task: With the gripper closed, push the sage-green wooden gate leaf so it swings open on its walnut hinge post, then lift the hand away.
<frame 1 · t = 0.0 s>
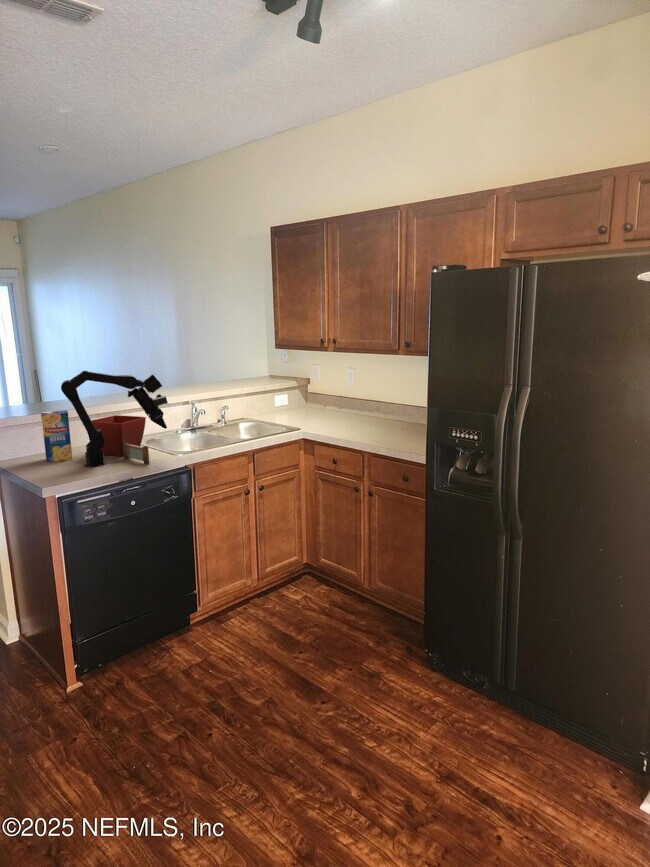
hand: (164, 426, 262), 15 cm above the worktop, tool tilted 35°, fingers open, 9 cm apart
gate frame: (137, 461, 258), on the worktop
plant pot: (120, 453, 275), on the worktop
gate leaf: (135, 452, 258), point 4 cm above the worktop, hinge at 0.0°
blue cardboard box: (59, 459, 263), on the worktop
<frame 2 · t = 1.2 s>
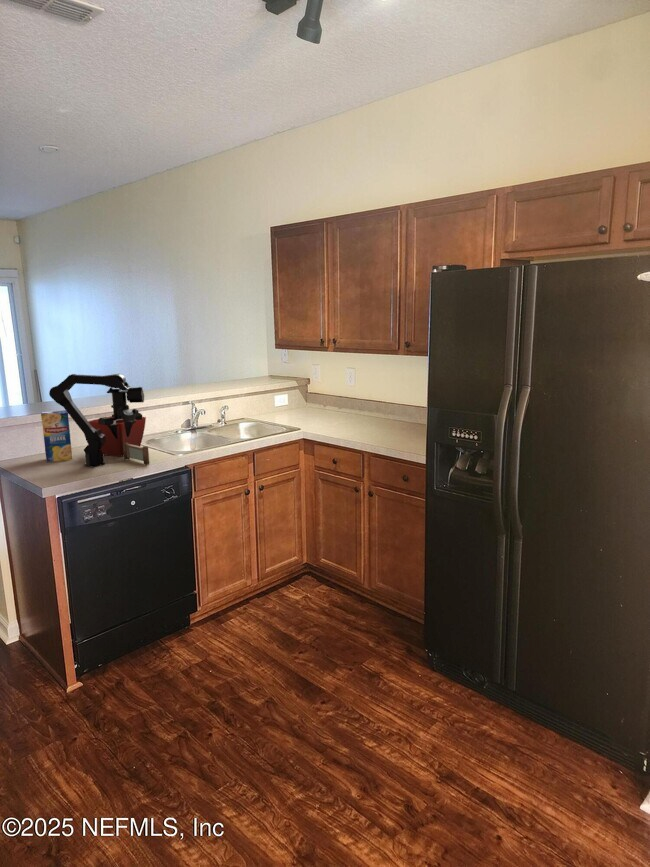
hand: (122, 437, 252), 12 cm above the worktop, tool pointing down, fingers open, 5 cm apart
nothing on the worktop moved.
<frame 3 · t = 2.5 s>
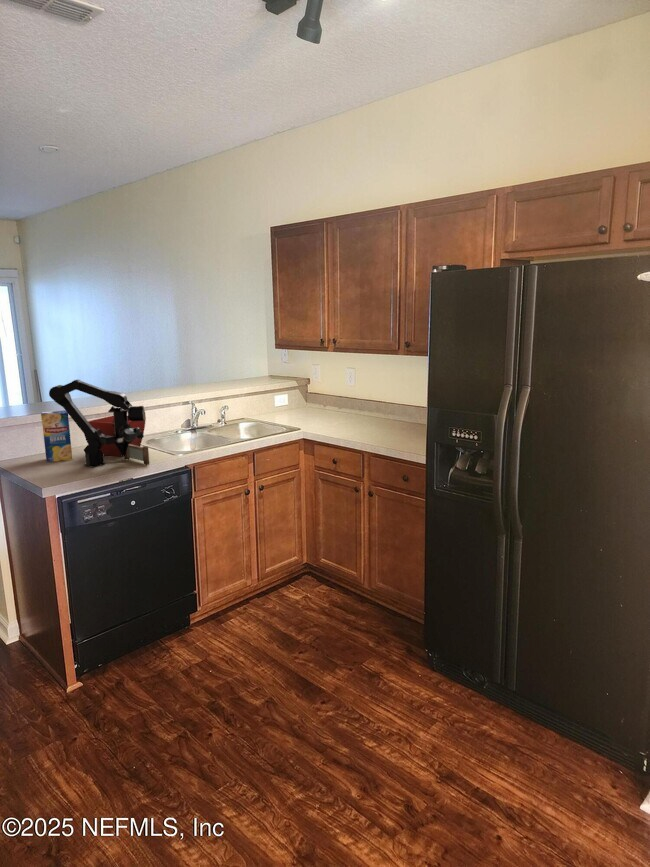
hand: (123, 456, 253), 4 cm above the worktop, tool pointing down, fingers closed
nothing on the worktop moved.
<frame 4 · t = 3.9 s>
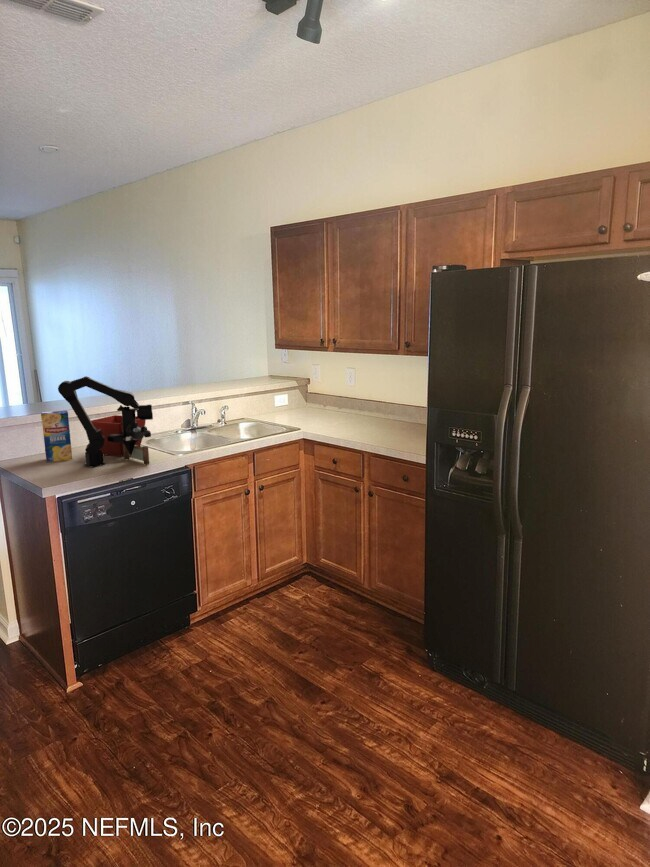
hand: (130, 454, 256), 4 cm above the worktop, tool pointing down, fingers closed
gate leaf: (136, 452, 258), point 4 cm above the worktop, hinge at 3.7°, touching gripper
everything else where it was.
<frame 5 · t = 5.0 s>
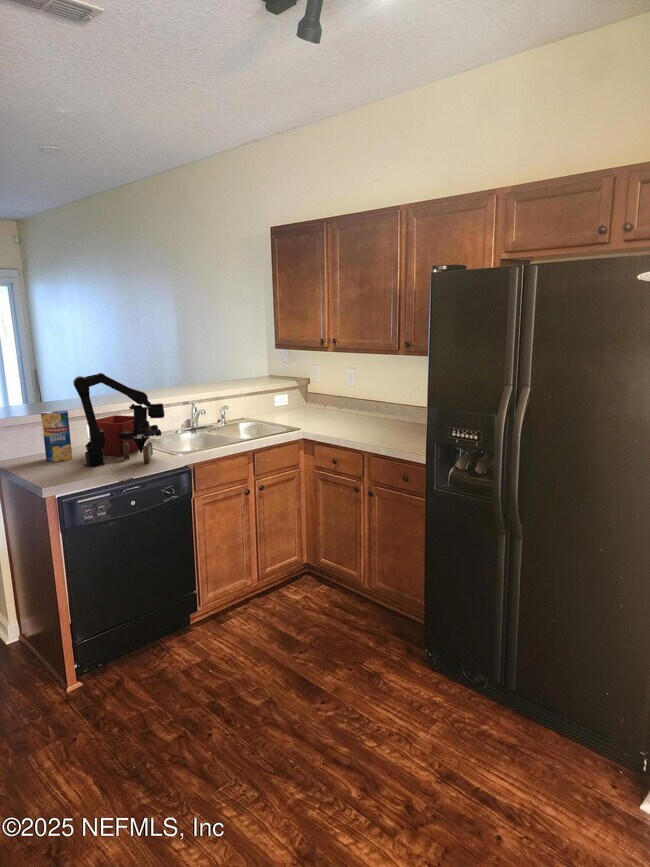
hand: (141, 452, 260), 4 cm above the worktop, tool pointing down, fingers closed
gate leaf: (148, 450, 260), point 4 cm above the worktop, hinge at 44.3°, touching gripper
everything else where it was.
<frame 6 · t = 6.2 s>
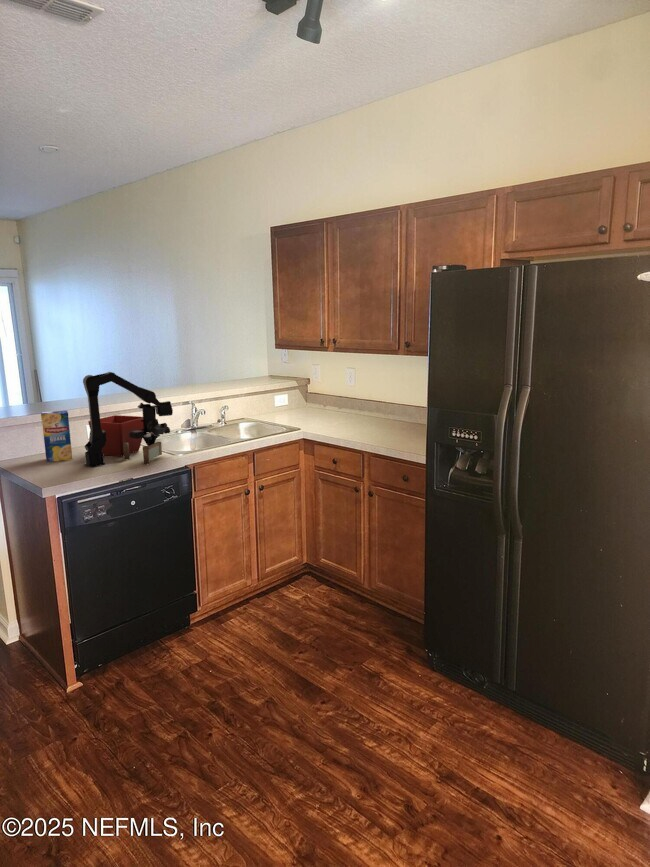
hand: (151, 450, 265), 4 cm above the worktop, tool pointing down, fingers closed
gate leaf: (153, 450, 260), point 4 cm above the worktop, hinge at 63.2°, touching gripper
everything else where it was.
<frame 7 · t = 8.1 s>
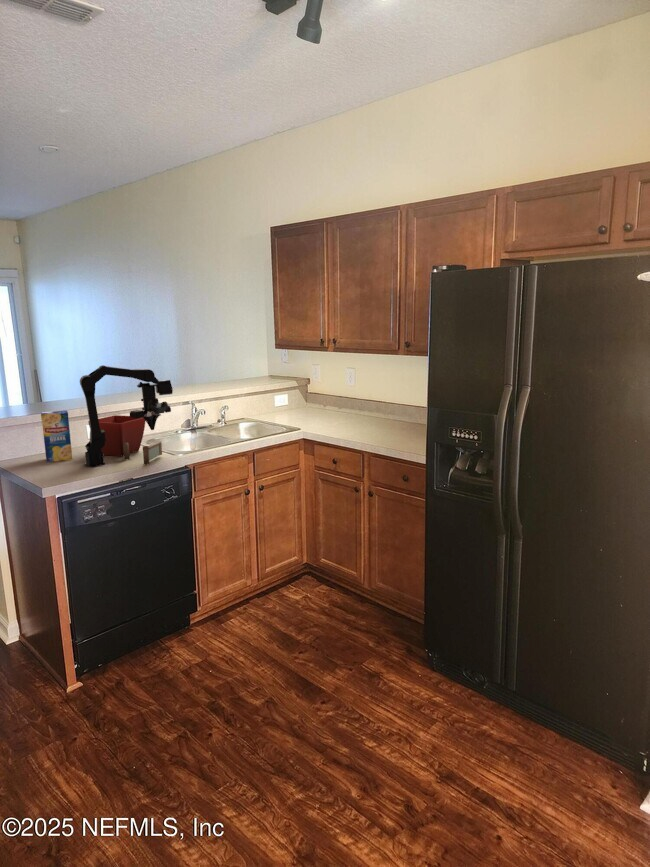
hand: (152, 429, 262), 13 cm above the worktop, tool pointing down, fingers closed
gate leaf: (153, 450, 260), point 4 cm above the worktop, hinge at 63.4°
everything else where it was.
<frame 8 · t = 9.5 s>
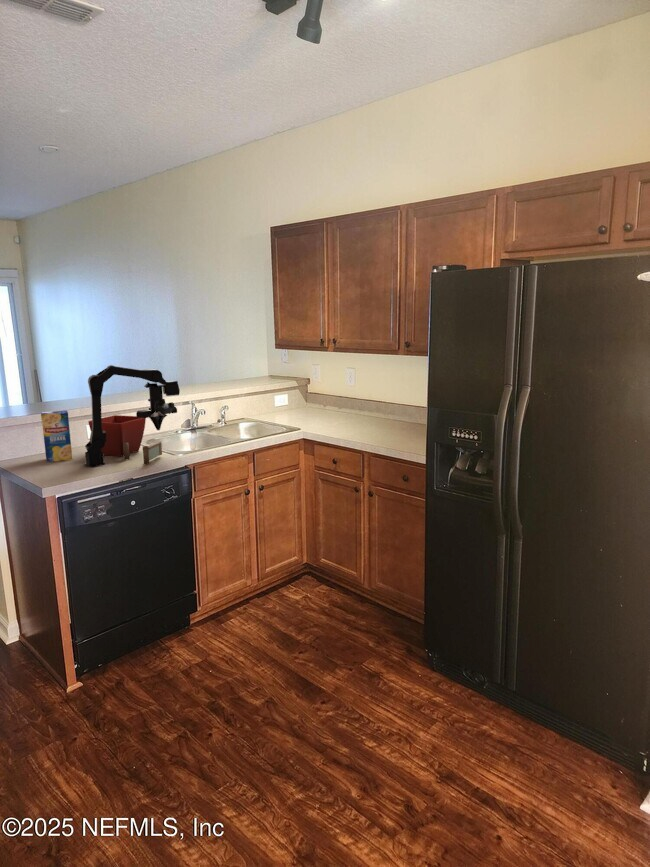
hand: (158, 430, 263), 13 cm above the worktop, tool pointing down, fingers closed
nothing on the worktop moved.
at the end: gate leaf at +63° (first picture: +0°) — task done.
